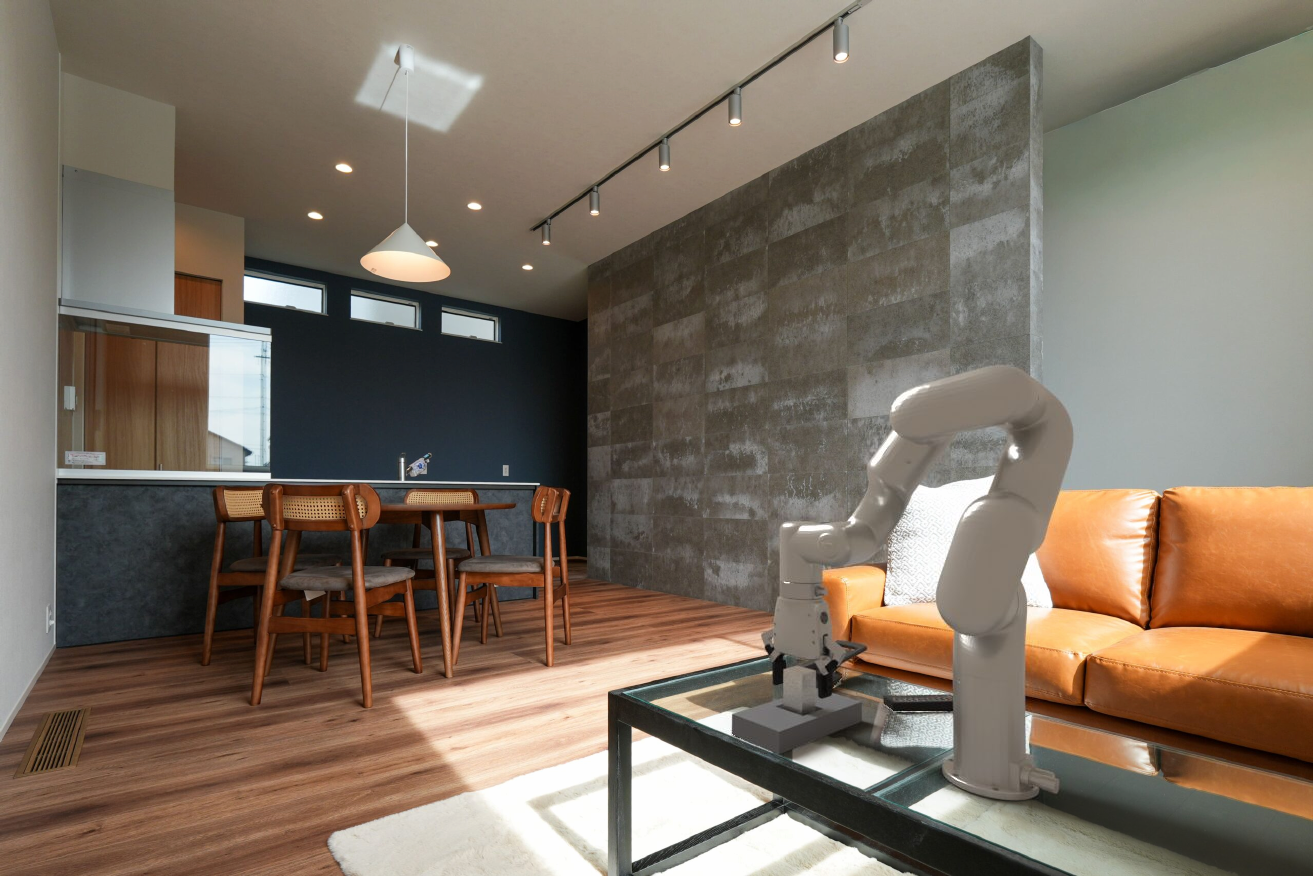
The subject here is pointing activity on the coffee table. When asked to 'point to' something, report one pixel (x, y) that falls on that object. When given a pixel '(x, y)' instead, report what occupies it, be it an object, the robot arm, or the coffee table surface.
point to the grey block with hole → (794, 722)
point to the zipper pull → (849, 654)
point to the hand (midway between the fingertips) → (801, 690)
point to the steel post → (799, 690)
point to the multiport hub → (919, 702)
